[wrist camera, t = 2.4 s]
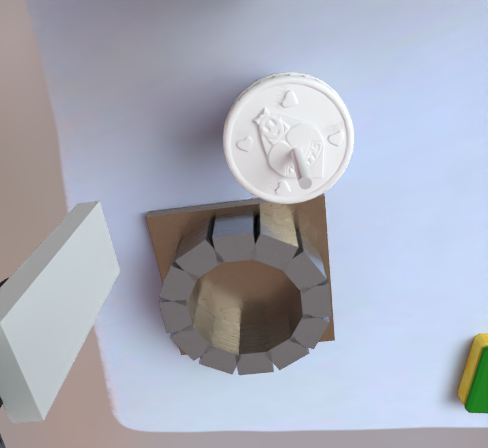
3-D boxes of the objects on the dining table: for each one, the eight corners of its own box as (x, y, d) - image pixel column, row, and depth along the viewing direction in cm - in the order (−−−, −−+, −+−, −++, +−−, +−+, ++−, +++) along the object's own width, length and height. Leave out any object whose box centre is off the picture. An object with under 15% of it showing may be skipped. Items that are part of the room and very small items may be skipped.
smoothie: (277, 169, 32) (292, 272, 20) (211, 106, 31) (180, 174, 18) (346, 104, 30) (412, 172, 18) (279, 32, 29) (300, 50, 16)
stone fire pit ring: (148, 211, 34) (134, 239, 30) (322, 190, 33) (332, 216, 29) (182, 347, 40) (174, 385, 35) (332, 332, 38) (342, 370, 34)
